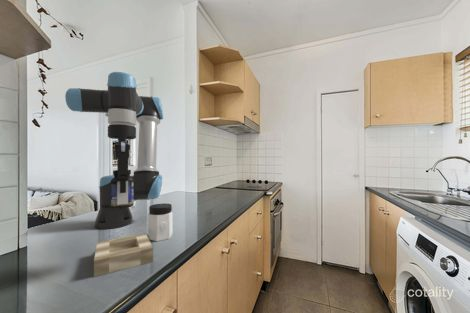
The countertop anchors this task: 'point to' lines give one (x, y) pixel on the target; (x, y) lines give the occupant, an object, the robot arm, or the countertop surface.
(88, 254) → the countertop surface
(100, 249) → the jig
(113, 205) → the pill bottle
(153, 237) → the jar
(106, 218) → the robot arm
